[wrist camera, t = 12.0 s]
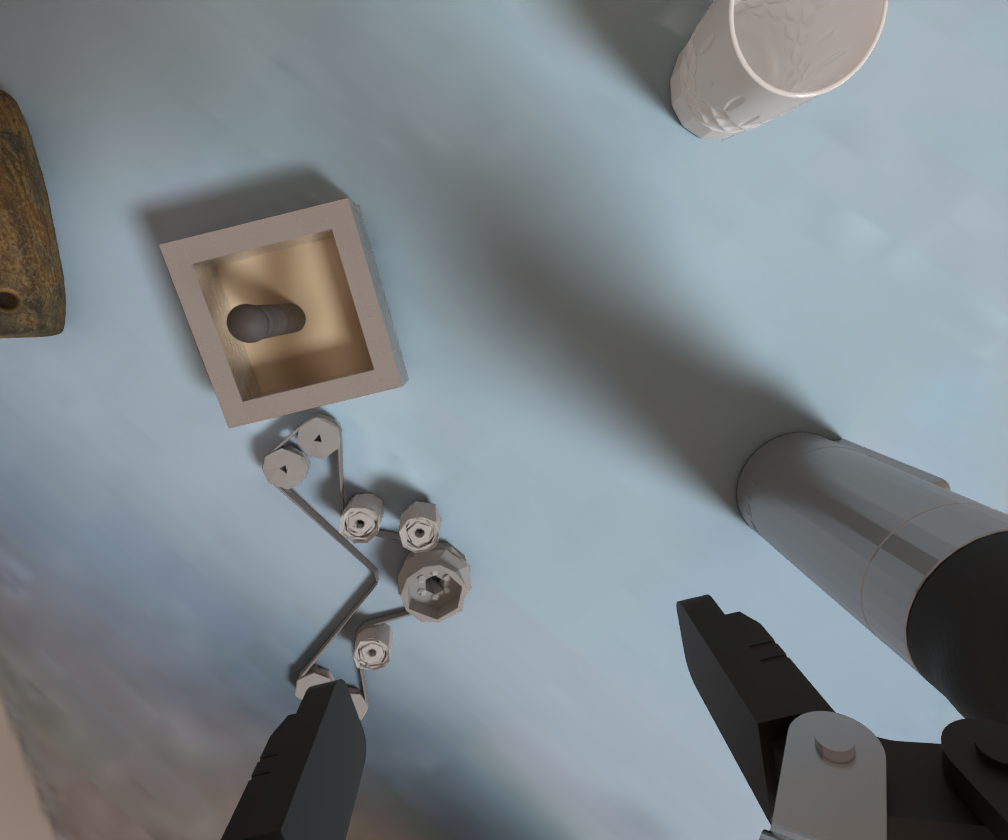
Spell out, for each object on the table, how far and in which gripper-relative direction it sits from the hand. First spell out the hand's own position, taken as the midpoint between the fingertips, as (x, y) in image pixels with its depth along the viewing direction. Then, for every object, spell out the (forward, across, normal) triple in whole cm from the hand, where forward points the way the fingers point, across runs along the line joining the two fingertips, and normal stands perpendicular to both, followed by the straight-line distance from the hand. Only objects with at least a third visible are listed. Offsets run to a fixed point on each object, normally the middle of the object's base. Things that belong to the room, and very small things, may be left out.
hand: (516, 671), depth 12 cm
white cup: (+28, -20, -18) cm, 39 cm away
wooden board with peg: (+28, +12, -10) cm, 32 cm away
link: (+27, +11, -10) cm, 31 cm away
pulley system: (+29, +12, +11) cm, 33 cm away
